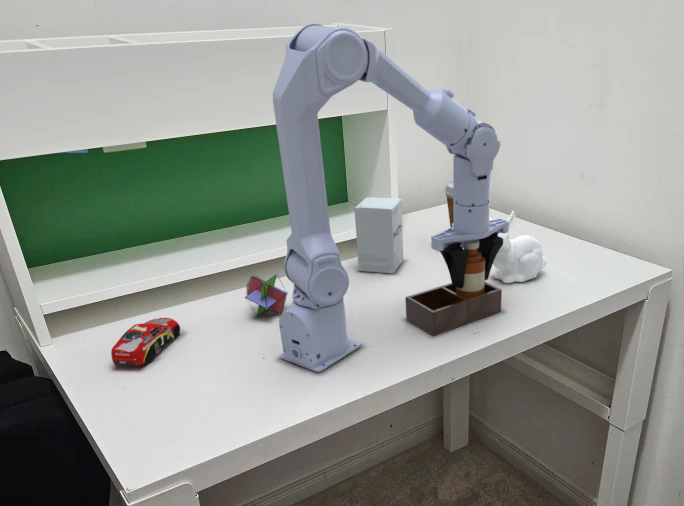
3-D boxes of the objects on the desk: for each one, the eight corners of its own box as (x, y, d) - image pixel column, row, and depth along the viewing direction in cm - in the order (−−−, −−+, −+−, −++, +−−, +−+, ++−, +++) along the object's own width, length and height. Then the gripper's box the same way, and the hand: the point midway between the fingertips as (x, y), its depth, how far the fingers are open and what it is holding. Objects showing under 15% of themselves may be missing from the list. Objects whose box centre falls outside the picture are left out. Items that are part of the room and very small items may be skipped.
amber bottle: (474, 307, 109) (475, 248, 103) (450, 300, 111) (450, 242, 106) (489, 296, 112) (491, 239, 107) (465, 290, 114) (466, 233, 109)
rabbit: (497, 288, 120) (499, 224, 114) (474, 270, 128) (476, 209, 121) (554, 277, 125) (559, 215, 118) (529, 261, 132) (533, 201, 126)
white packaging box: (394, 274, 126) (391, 209, 119) (357, 271, 127) (352, 207, 121) (404, 260, 132) (402, 198, 126) (369, 257, 133) (365, 195, 127)
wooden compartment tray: (433, 336, 104) (432, 312, 102) (406, 319, 109) (405, 297, 107) (501, 311, 112) (501, 289, 110) (472, 297, 117) (473, 275, 115)
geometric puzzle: (305, 296, 112) (275, 258, 110) (285, 313, 106) (252, 272, 104) (279, 315, 116) (249, 278, 114) (258, 332, 110) (226, 293, 108)
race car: (156, 328, 107) (150, 305, 105) (187, 330, 106) (182, 308, 104) (106, 368, 96) (99, 344, 94) (141, 371, 95) (134, 347, 93)
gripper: (489, 187, 109) (487, 265, 116) (418, 203, 102) (421, 285, 109) (519, 197, 105) (514, 277, 112) (446, 214, 97) (447, 299, 104)
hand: (470, 282), depth 110 cm, fingers closed on amber bottle, 5 cm apart
